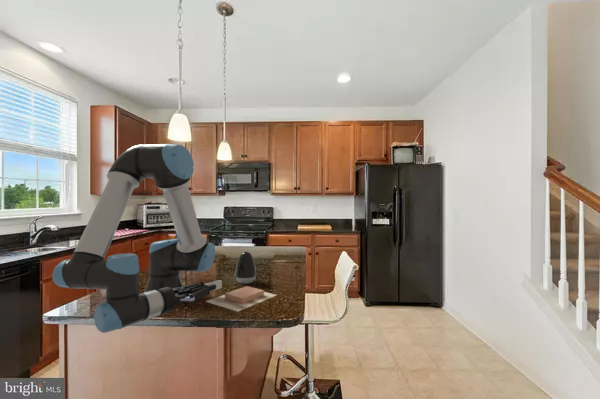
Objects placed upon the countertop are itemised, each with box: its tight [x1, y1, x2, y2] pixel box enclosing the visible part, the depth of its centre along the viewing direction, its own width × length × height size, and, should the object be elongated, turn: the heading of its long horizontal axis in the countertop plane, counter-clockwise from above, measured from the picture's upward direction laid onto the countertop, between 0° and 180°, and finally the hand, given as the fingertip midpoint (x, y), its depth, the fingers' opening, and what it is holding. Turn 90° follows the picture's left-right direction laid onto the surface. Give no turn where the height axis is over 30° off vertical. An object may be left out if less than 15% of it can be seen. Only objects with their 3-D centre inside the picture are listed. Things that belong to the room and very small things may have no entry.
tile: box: [224, 285, 265, 304], centre depth 114 cm, size 2×10×12 cm
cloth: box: [205, 291, 277, 313], centre depth 113 cm, size 22×18×1 cm
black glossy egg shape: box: [234, 251, 257, 285], centre depth 137 cm, size 10×10×15 cm
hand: (220, 283), depth 104 cm, fingers closed
